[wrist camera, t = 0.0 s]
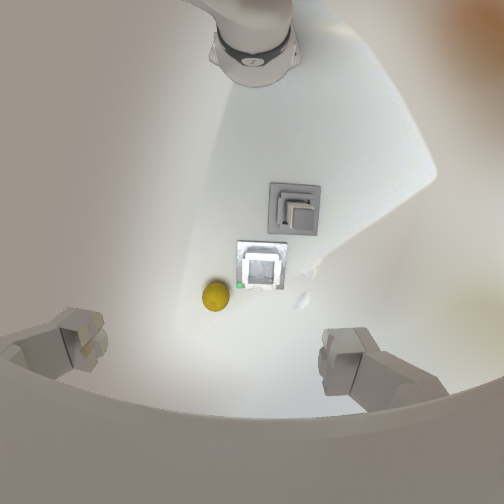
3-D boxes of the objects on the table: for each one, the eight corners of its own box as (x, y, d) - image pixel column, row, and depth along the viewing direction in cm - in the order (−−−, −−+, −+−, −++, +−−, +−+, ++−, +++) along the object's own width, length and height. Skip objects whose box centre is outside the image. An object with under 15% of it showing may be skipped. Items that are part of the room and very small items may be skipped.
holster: (270, 183, 54) (271, 183, 51) (319, 186, 54) (324, 187, 50) (267, 232, 57) (268, 236, 53) (315, 234, 57) (320, 239, 53)
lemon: (202, 293, 61) (194, 310, 54) (212, 273, 60) (205, 287, 52) (224, 304, 62) (220, 322, 54) (235, 284, 60) (232, 300, 53)
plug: (285, 200, 54) (293, 207, 43) (303, 201, 54) (316, 209, 43) (284, 218, 55) (291, 230, 44) (302, 219, 55) (314, 231, 44)
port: (237, 240, 58) (236, 246, 53) (286, 242, 58) (288, 248, 53) (236, 285, 61) (235, 294, 56) (283, 287, 60) (284, 296, 56)
